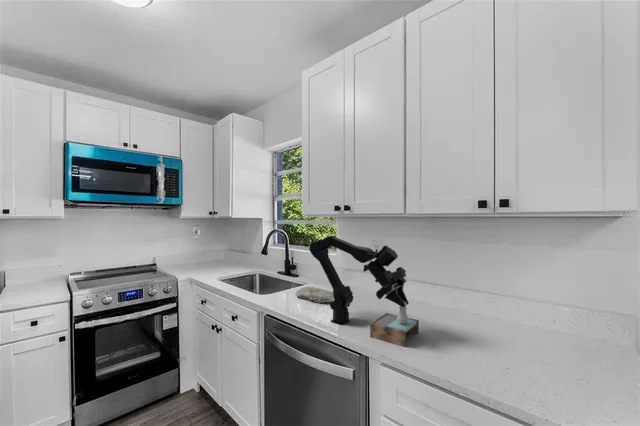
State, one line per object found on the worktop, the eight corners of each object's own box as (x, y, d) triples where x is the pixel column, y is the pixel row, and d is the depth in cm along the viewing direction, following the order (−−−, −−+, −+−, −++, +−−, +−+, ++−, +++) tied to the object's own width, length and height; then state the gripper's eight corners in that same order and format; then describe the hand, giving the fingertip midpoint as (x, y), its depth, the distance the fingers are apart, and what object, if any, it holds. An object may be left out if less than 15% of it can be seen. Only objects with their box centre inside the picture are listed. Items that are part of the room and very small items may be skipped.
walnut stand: (369, 337, 114) (369, 322, 114) (387, 325, 126) (387, 311, 126) (403, 347, 105) (403, 331, 105) (419, 333, 117) (419, 319, 118)
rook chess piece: (410, 323, 112) (411, 302, 112) (400, 324, 111) (400, 303, 111) (404, 319, 116) (404, 299, 116) (394, 320, 115) (394, 300, 115)
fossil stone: (345, 301, 161) (345, 292, 161) (328, 308, 150) (328, 297, 150) (308, 292, 180) (308, 284, 180) (291, 297, 168) (291, 288, 169)
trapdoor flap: (374, 327, 114) (374, 322, 114) (387, 318, 124) (387, 314, 124) (405, 335, 107) (405, 330, 107) (416, 325, 116) (416, 321, 116)
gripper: (384, 264, 108) (413, 299, 102) (401, 258, 123) (428, 288, 117) (364, 282, 113) (391, 316, 106) (384, 274, 128) (408, 303, 122)
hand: (406, 305), depth 113 cm, fingers closed on rook chess piece, 3 cm apart
